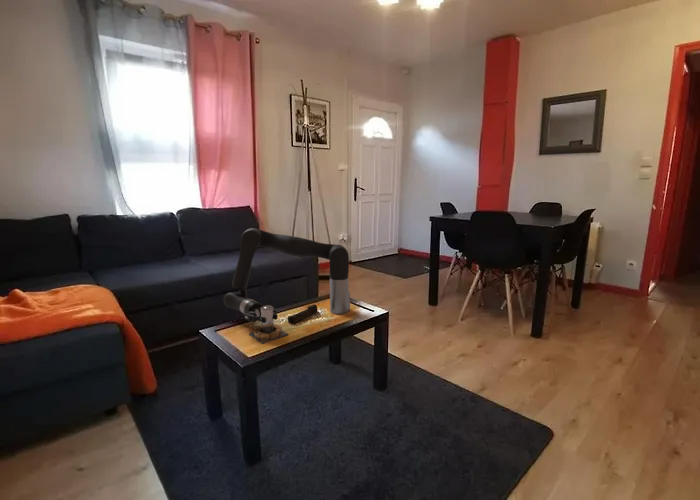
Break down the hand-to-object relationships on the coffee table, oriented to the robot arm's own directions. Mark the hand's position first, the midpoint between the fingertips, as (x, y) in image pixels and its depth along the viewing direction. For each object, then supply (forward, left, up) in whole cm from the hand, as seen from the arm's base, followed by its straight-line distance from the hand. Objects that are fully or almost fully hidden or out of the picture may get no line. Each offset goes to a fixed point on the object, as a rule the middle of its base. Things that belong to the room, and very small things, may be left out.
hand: (270, 319), depth 151 cm
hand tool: (-23, -9, -8) cm, 26 cm away
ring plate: (0, -3, -8) cm, 8 cm away
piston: (0, -3, -6) cm, 7 cm away
